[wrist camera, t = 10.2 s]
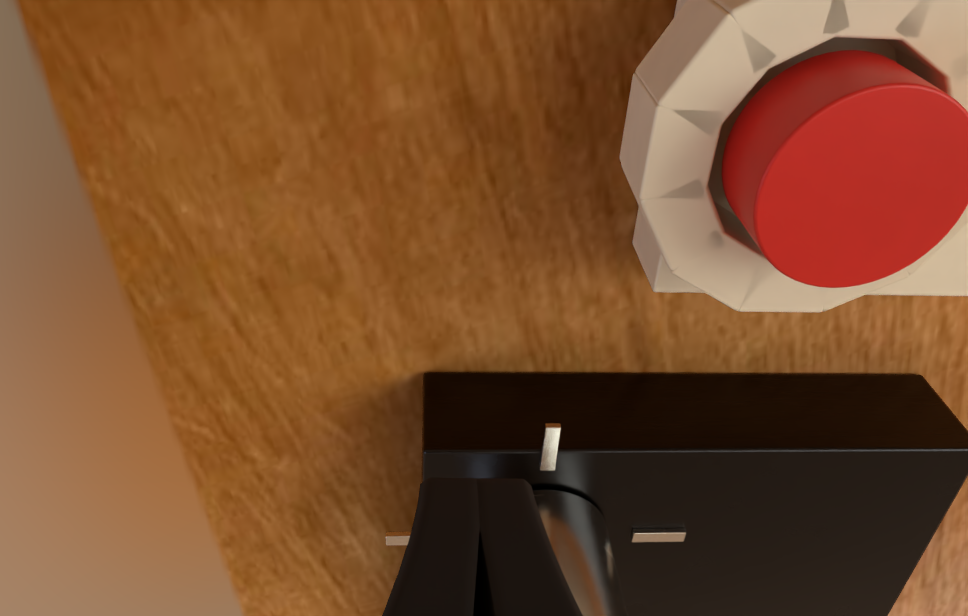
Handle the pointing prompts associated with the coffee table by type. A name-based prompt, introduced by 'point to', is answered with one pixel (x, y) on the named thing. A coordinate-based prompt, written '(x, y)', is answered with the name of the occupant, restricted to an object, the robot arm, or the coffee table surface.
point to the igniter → (713, 111)
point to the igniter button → (847, 168)
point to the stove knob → (582, 551)
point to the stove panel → (721, 478)
